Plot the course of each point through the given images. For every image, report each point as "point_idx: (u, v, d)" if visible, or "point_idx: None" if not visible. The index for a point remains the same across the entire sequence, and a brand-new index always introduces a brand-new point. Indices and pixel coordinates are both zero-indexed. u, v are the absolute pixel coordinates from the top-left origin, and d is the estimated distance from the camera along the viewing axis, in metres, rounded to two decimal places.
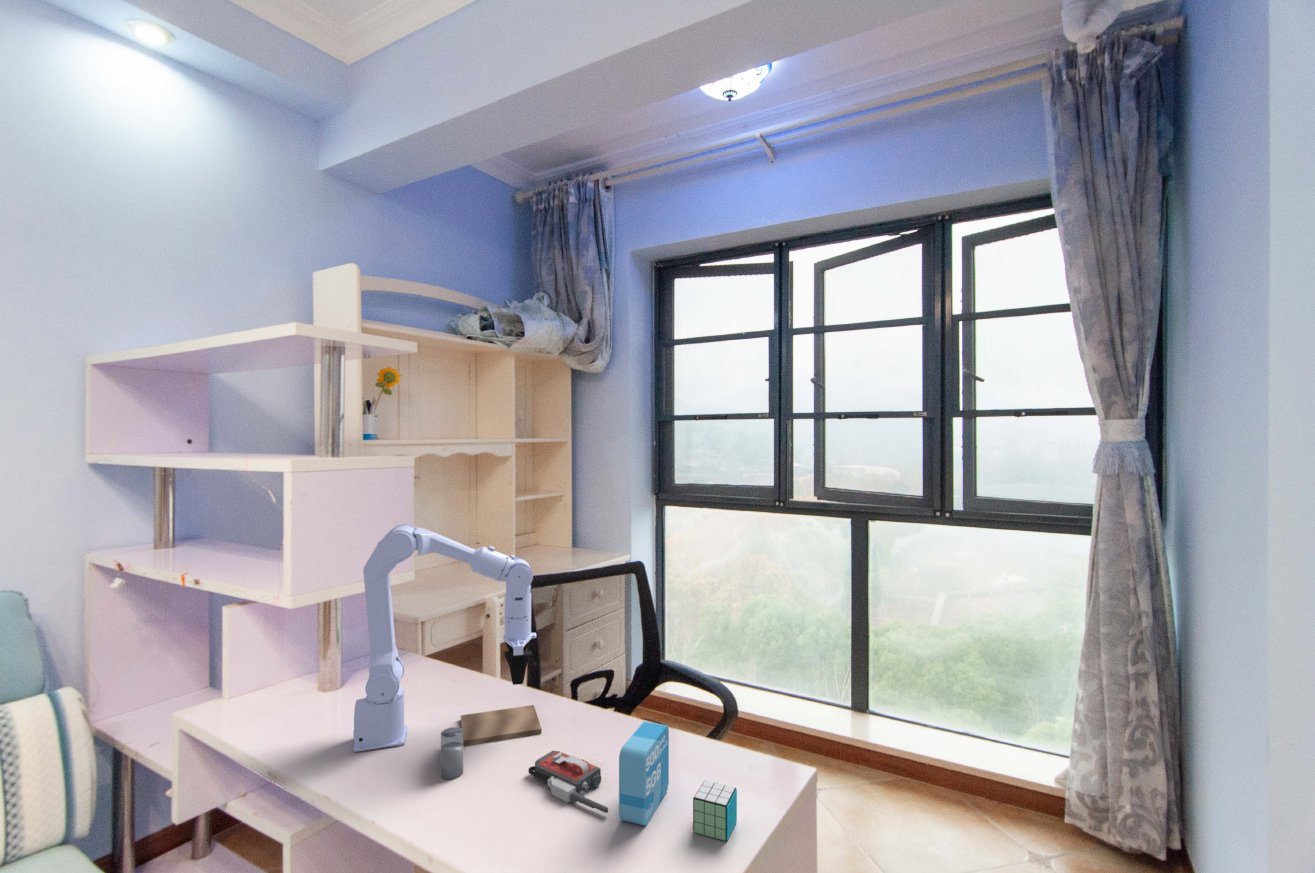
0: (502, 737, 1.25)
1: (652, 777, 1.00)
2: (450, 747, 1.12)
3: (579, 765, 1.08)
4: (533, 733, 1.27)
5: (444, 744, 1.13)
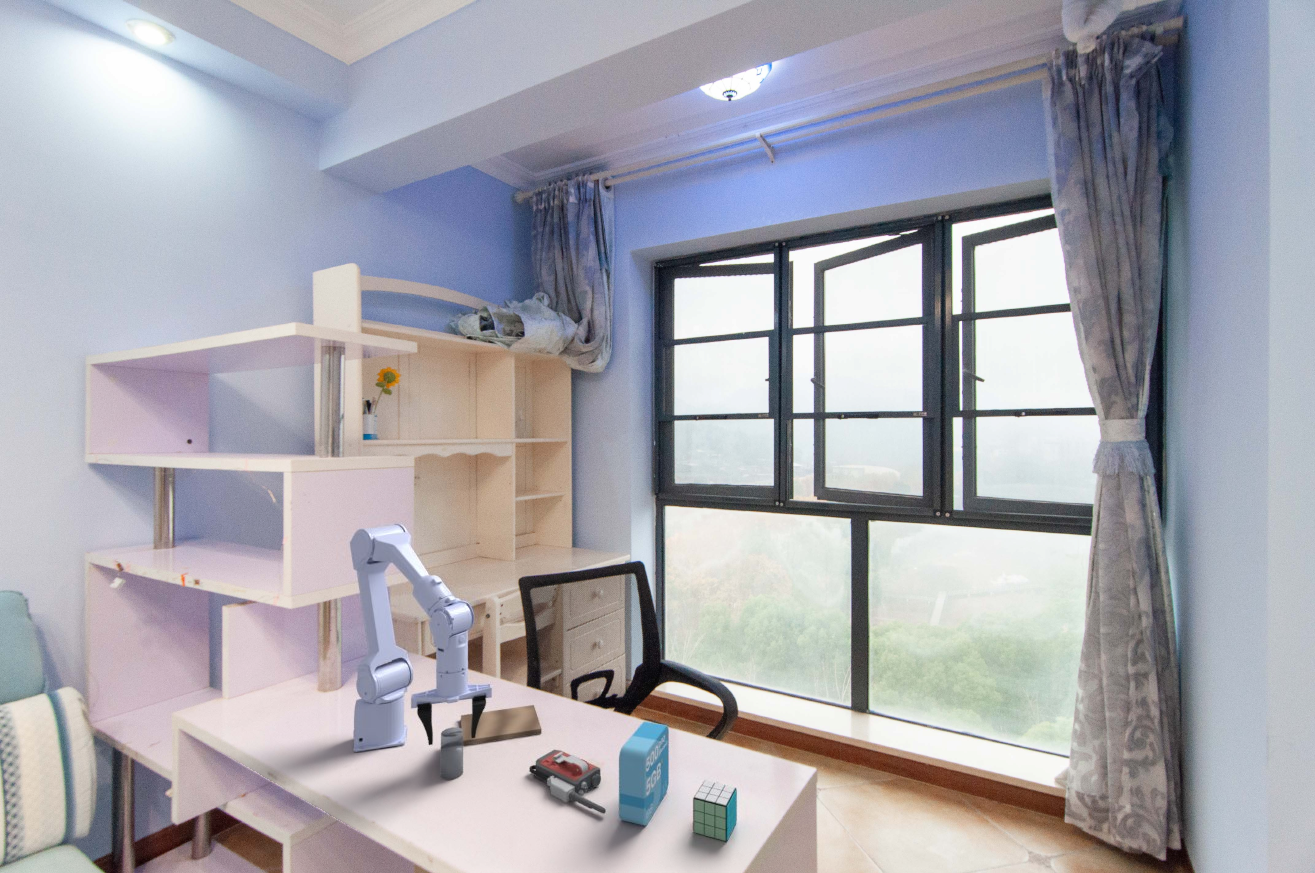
0: (502, 737, 1.25)
1: (652, 777, 1.00)
2: (450, 747, 1.12)
3: (578, 765, 1.08)
4: (533, 733, 1.27)
5: (444, 744, 1.13)
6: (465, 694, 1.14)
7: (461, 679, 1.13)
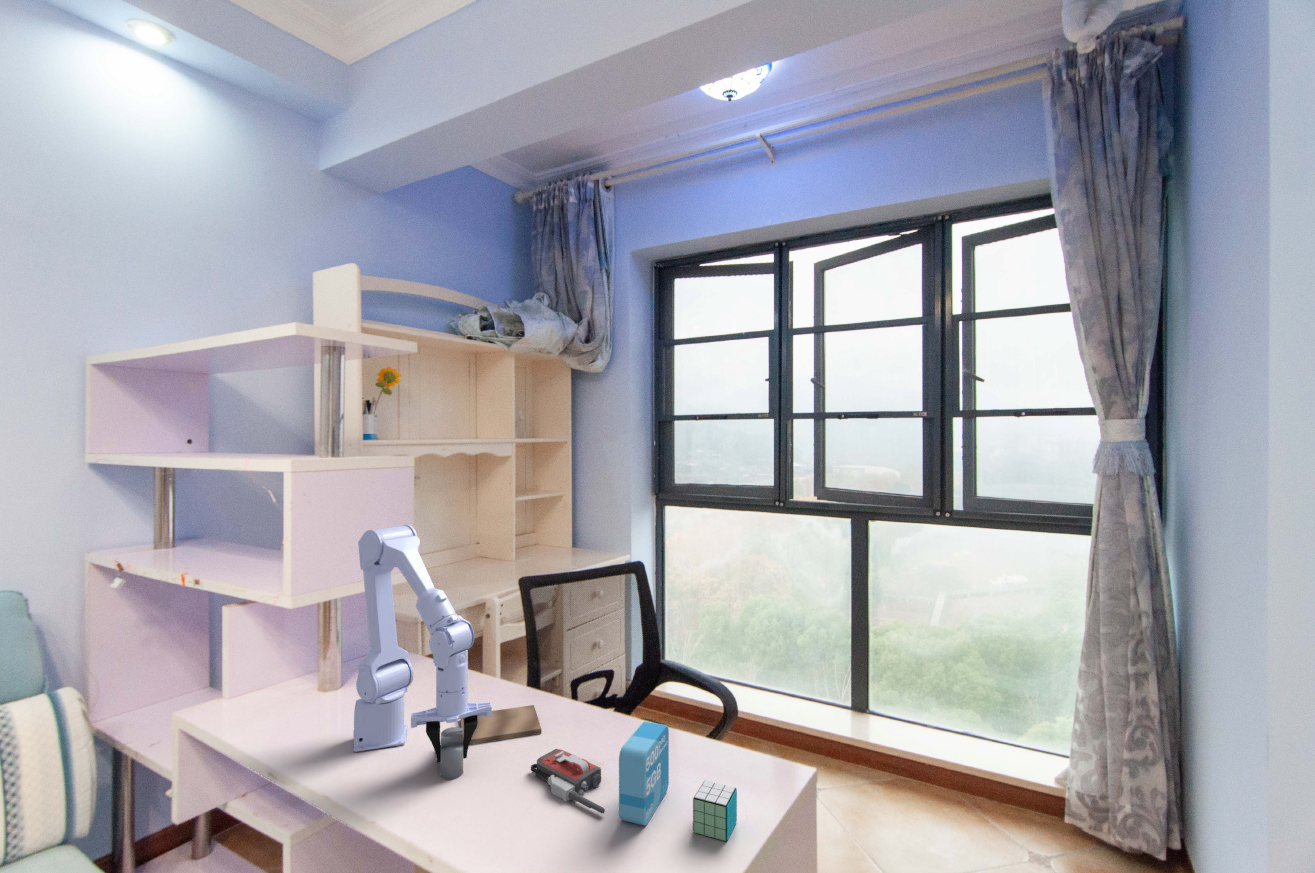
0: (502, 737, 1.25)
1: (652, 777, 1.00)
2: (450, 747, 1.12)
3: (579, 764, 1.08)
4: (533, 733, 1.27)
5: (444, 744, 1.13)
6: (465, 713, 1.14)
7: (461, 699, 1.13)
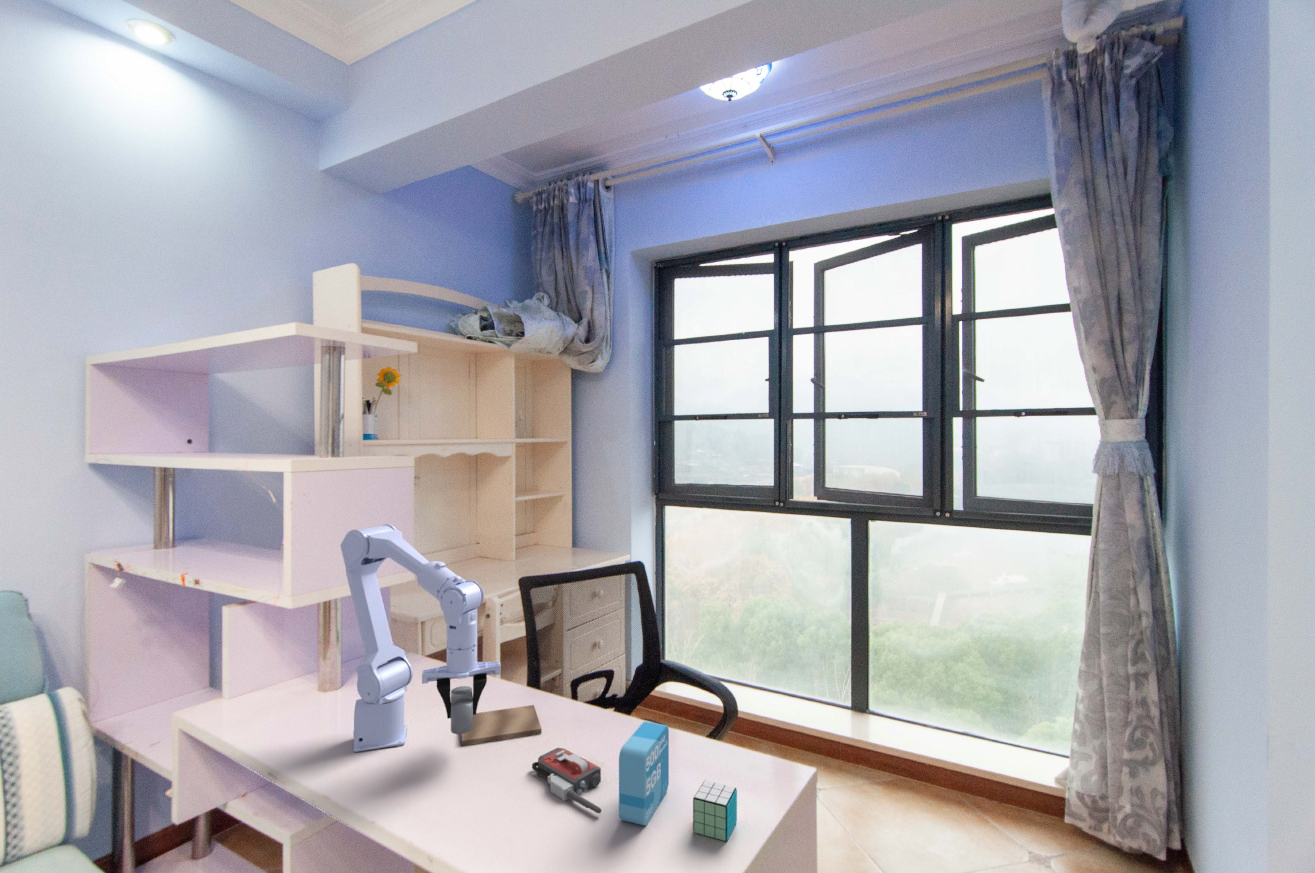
0: (502, 737, 1.25)
1: (652, 777, 1.00)
2: (460, 703, 1.15)
3: (578, 764, 1.08)
4: (533, 733, 1.27)
5: (454, 700, 1.16)
6: (474, 670, 1.17)
7: (471, 656, 1.16)
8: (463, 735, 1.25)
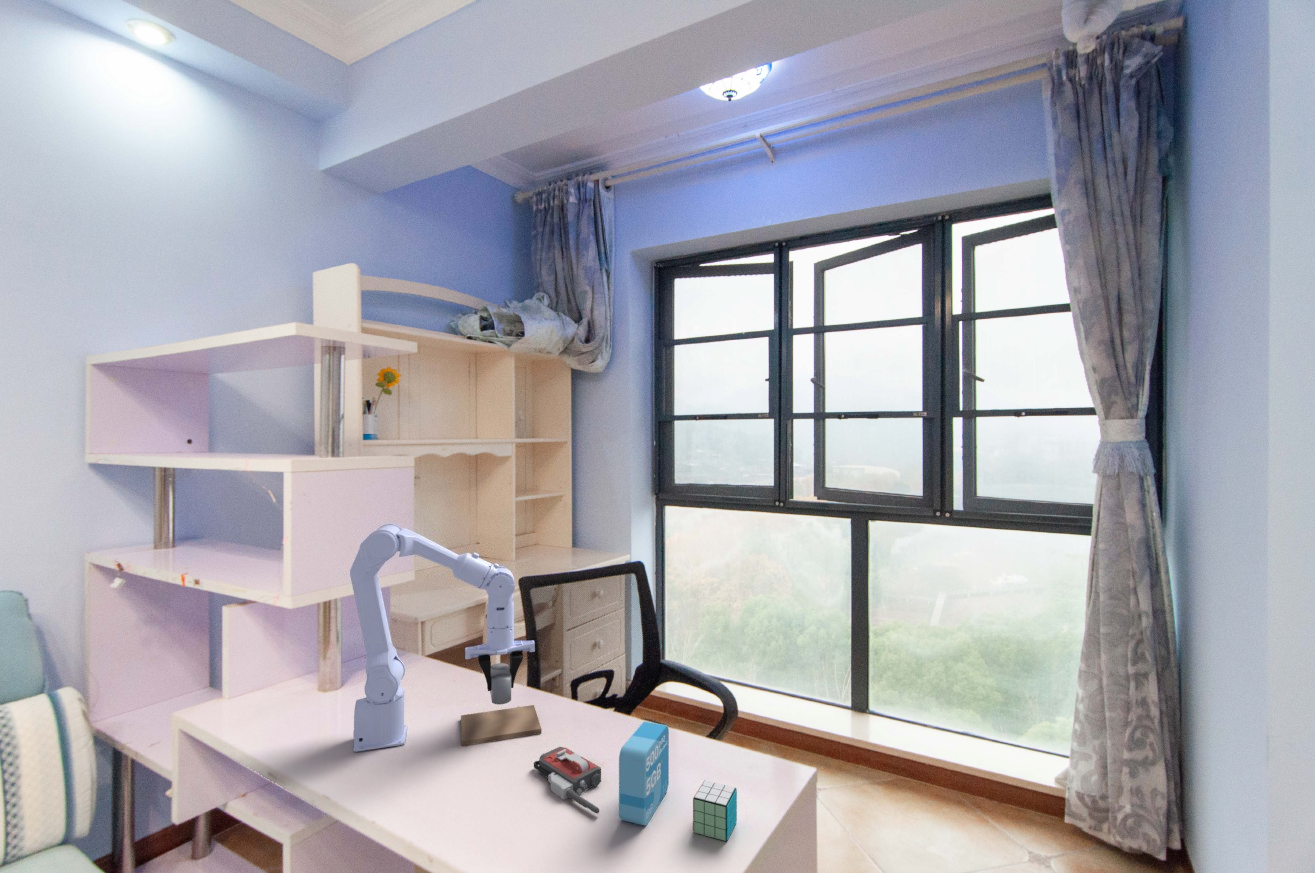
0: (502, 737, 1.25)
1: (652, 777, 1.00)
2: (500, 677, 1.27)
3: (578, 763, 1.08)
4: (533, 733, 1.27)
5: (494, 675, 1.28)
6: (512, 648, 1.29)
7: (509, 635, 1.29)
8: (463, 735, 1.25)
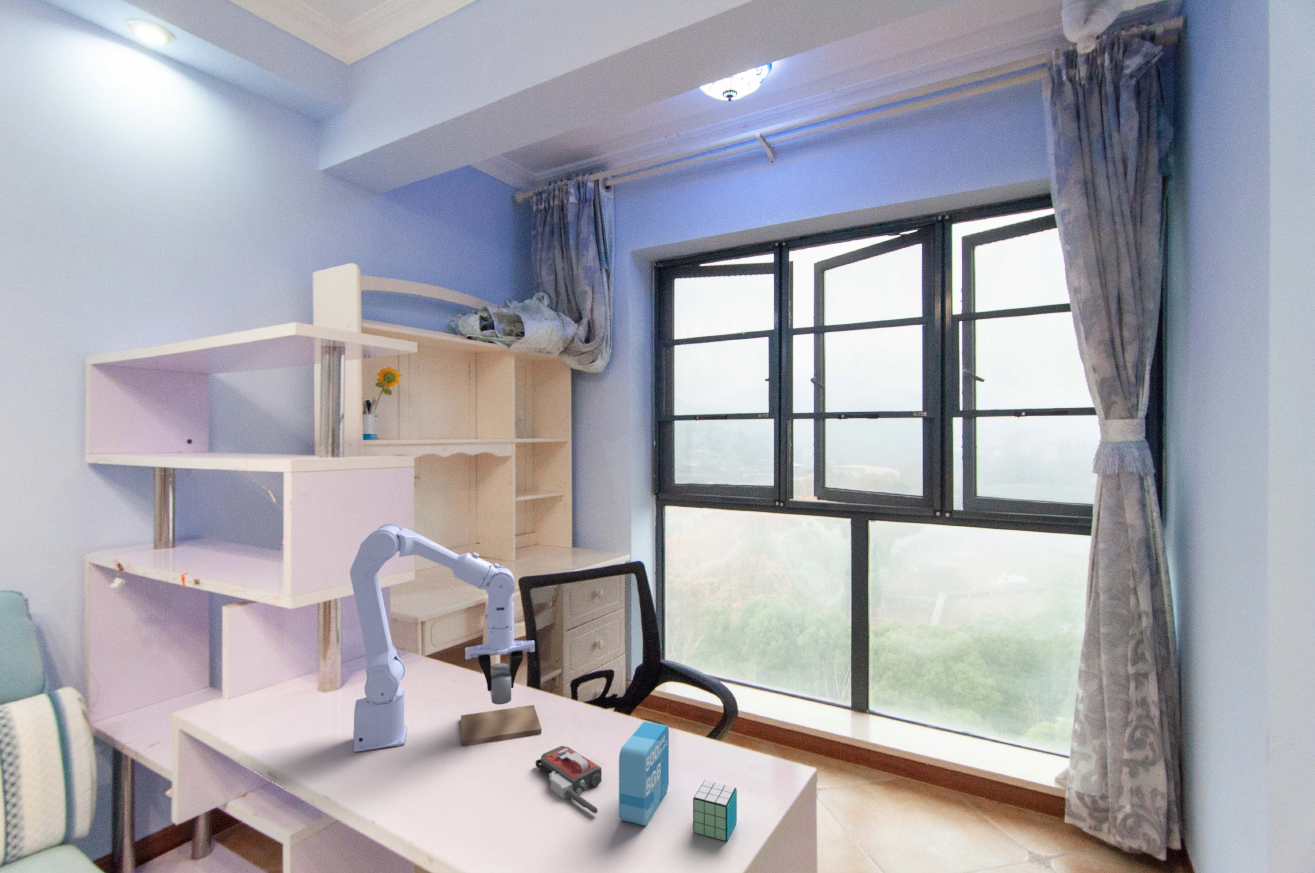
0: (502, 737, 1.25)
1: (652, 777, 1.00)
2: (500, 677, 1.27)
3: (579, 763, 1.09)
4: (533, 733, 1.27)
5: (494, 675, 1.28)
6: (512, 648, 1.29)
7: (509, 635, 1.29)
8: (463, 735, 1.25)
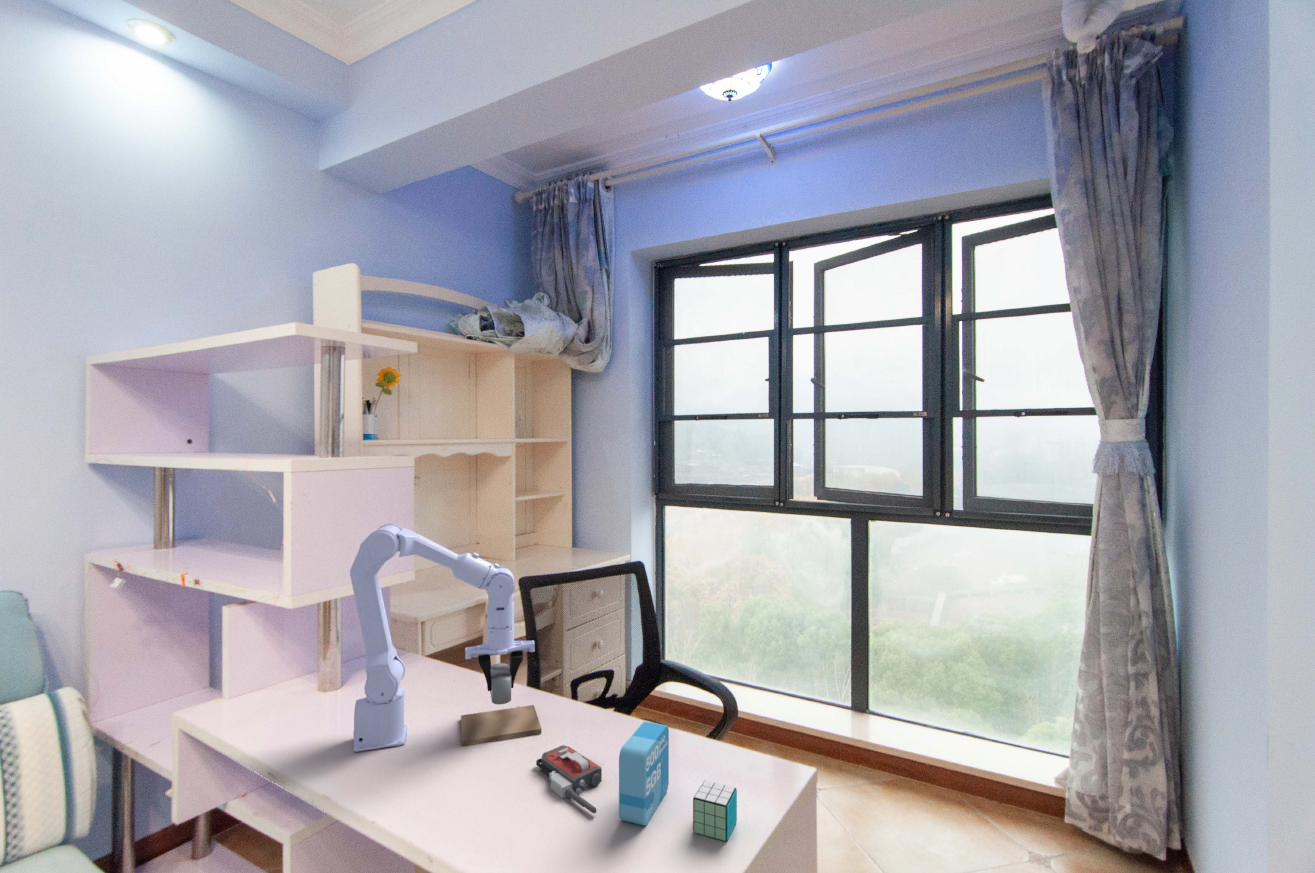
0: (502, 737, 1.25)
1: (652, 777, 1.00)
2: (500, 677, 1.27)
3: (579, 762, 1.09)
4: (533, 733, 1.27)
5: (494, 675, 1.28)
6: (512, 648, 1.29)
7: (509, 635, 1.29)
8: (463, 735, 1.25)
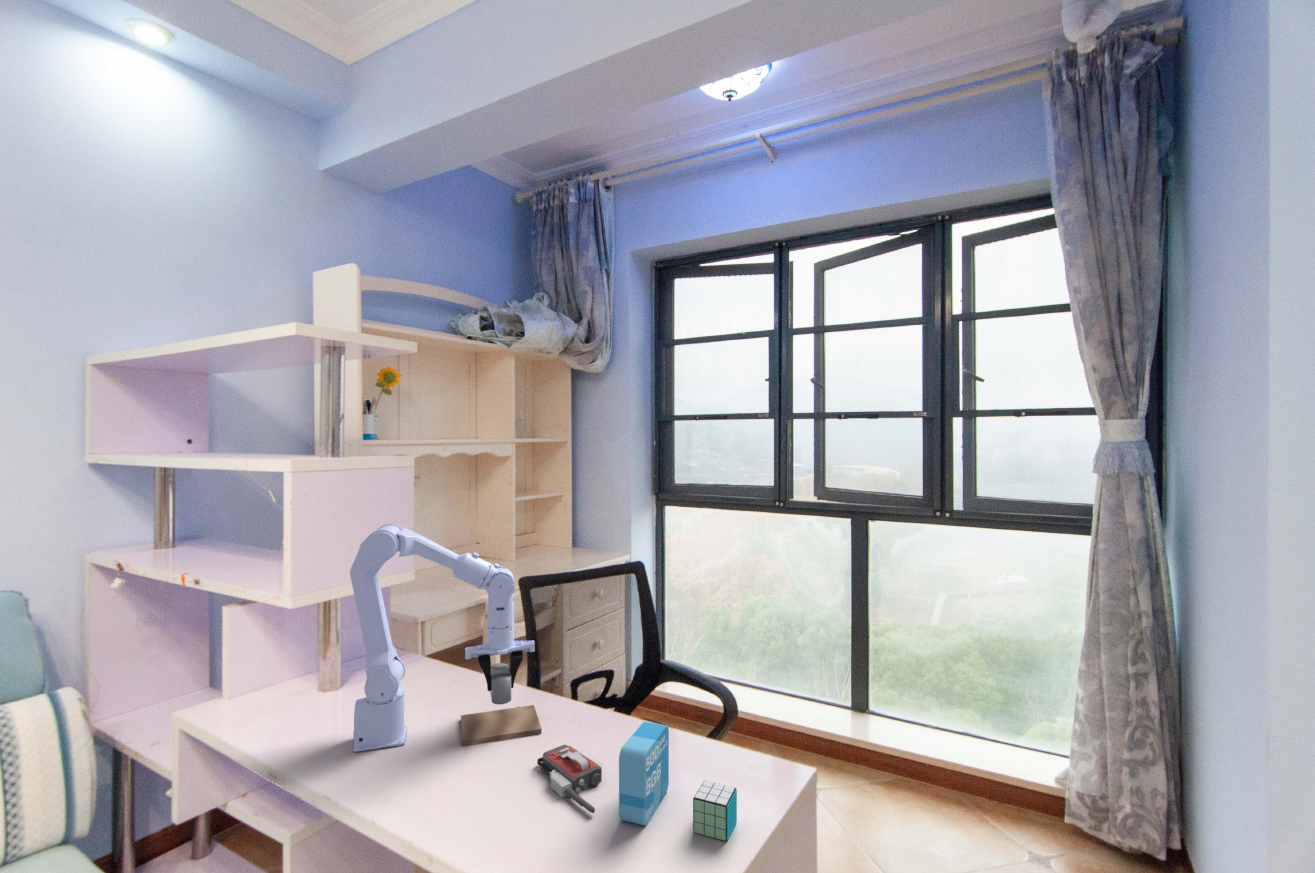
0: (502, 737, 1.25)
1: (652, 777, 1.00)
2: (500, 677, 1.27)
3: (579, 762, 1.09)
4: (533, 733, 1.27)
5: (494, 675, 1.28)
6: (512, 648, 1.29)
7: (509, 635, 1.29)
8: (463, 735, 1.25)
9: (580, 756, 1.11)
